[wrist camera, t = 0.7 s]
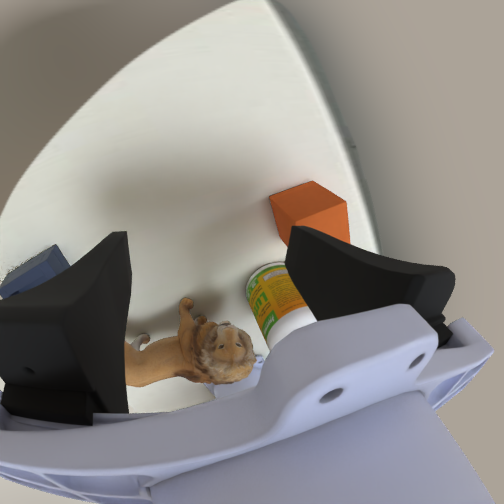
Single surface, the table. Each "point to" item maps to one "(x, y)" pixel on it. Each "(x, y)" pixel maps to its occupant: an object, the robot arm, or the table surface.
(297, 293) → the supplement bottle
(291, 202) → the orange rectangular block
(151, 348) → the lion figurine
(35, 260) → the blue square tray
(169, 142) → the table surface
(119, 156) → the table surface
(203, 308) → the table surface
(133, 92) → the table surface
